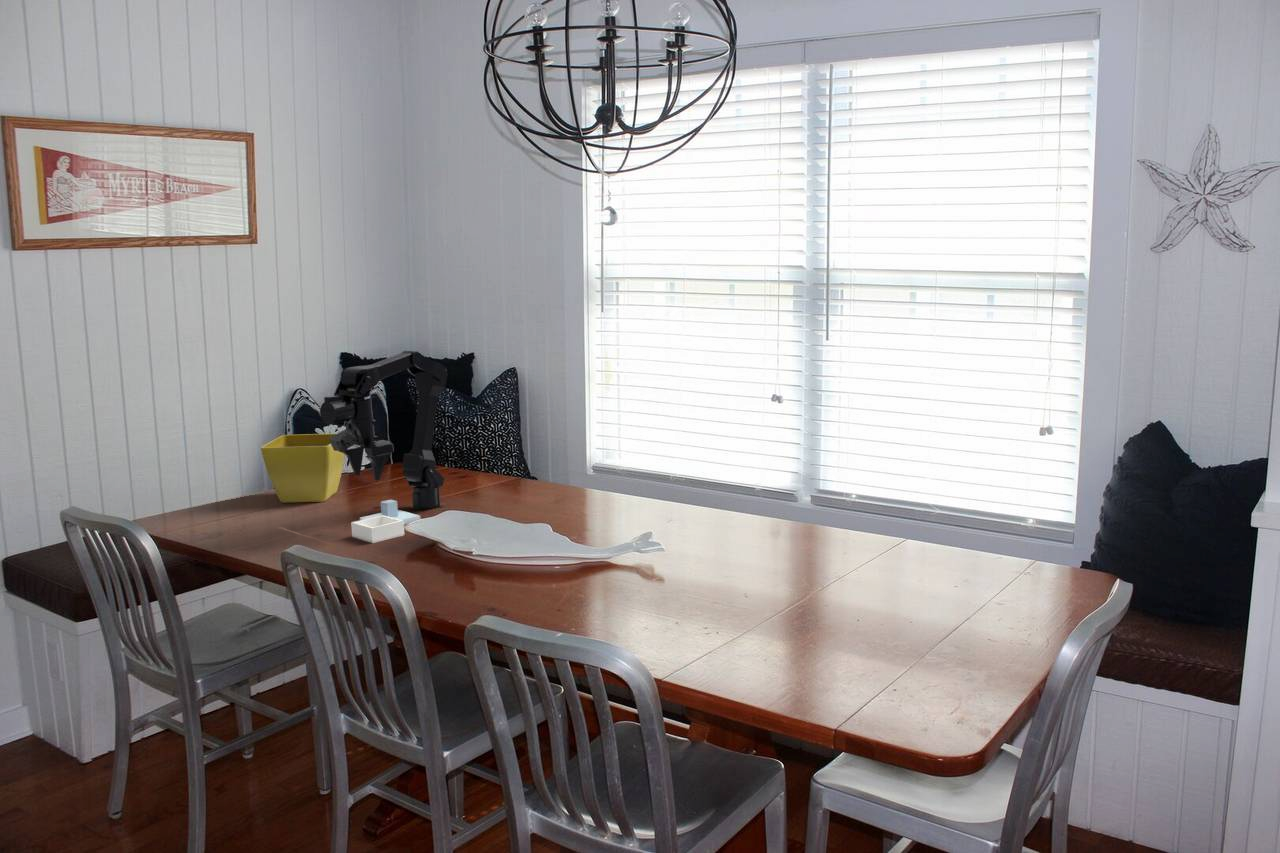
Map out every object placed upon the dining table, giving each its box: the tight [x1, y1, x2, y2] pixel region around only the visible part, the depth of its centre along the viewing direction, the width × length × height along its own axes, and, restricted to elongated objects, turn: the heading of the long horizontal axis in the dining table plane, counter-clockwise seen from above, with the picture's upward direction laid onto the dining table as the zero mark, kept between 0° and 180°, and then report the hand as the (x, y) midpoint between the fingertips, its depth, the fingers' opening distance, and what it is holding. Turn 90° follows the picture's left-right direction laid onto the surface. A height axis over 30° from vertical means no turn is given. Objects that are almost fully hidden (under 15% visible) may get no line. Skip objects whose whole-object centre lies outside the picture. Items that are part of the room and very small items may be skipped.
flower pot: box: [260, 433, 346, 503], centre depth 311 cm, size 19×19×17 cm
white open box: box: [350, 515, 405, 544], centre depth 266 cm, size 9×9×4 cm
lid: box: [359, 499, 421, 524], centre depth 280 cm, size 11×11×5 cm
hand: (367, 477), depth 277 cm, fingers open, 9 cm apart
